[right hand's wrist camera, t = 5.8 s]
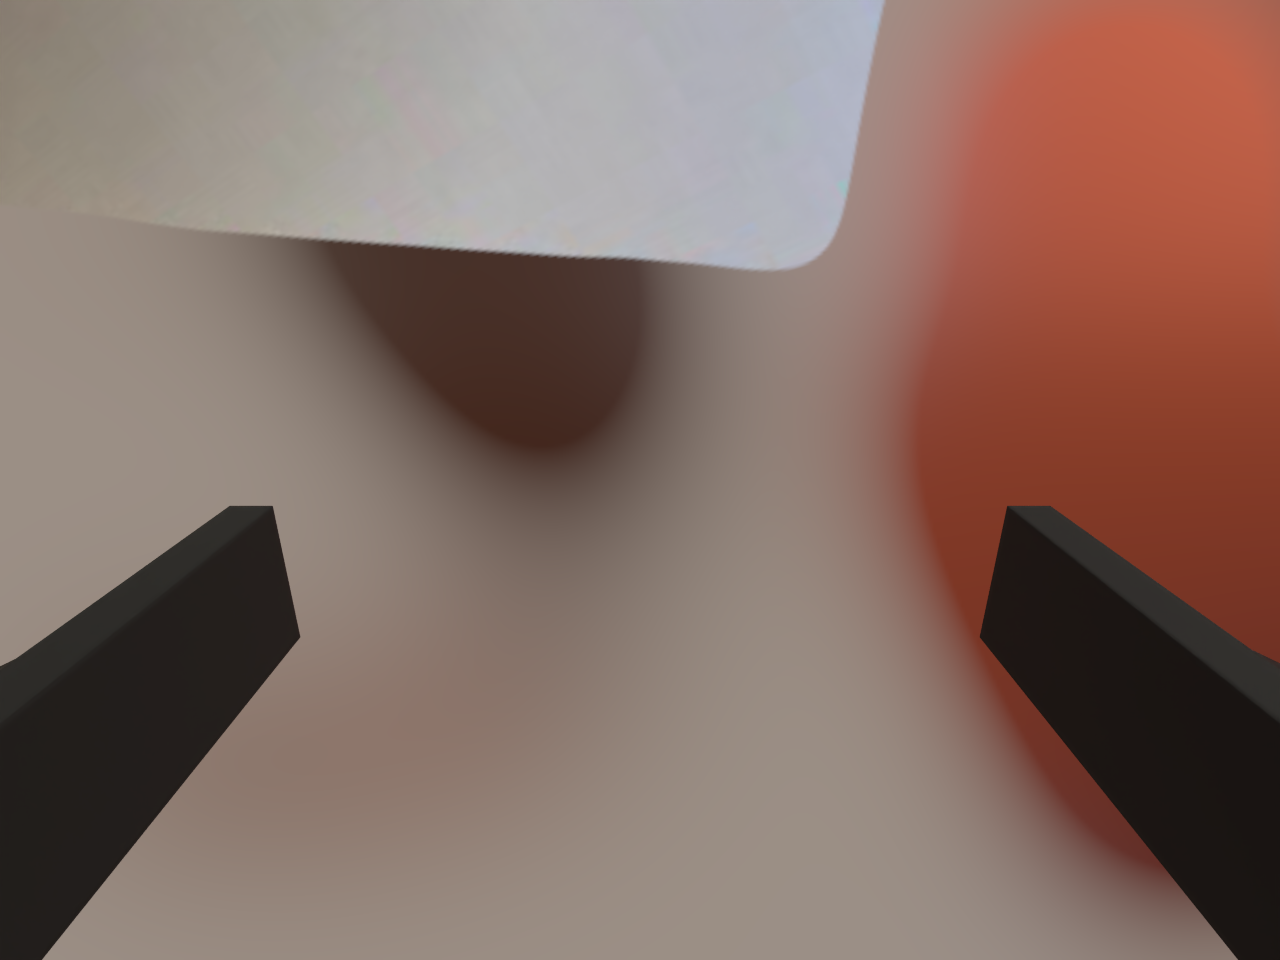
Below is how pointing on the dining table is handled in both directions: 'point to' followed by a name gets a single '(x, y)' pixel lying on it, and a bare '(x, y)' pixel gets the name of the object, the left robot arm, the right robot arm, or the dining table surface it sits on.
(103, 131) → the dining table surface
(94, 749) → the right robot arm
